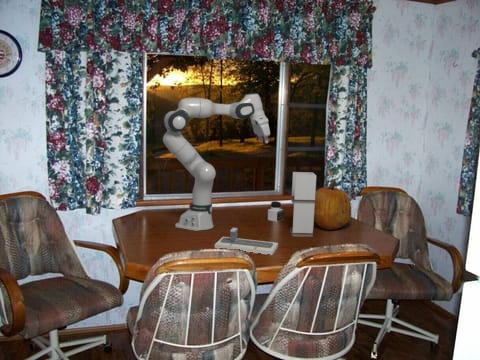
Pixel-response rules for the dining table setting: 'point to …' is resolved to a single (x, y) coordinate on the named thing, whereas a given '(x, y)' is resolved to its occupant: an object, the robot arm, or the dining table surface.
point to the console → (248, 245)
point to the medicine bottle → (275, 212)
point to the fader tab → (233, 234)
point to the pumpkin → (331, 207)
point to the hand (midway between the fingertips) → (264, 141)
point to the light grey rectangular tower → (303, 203)
